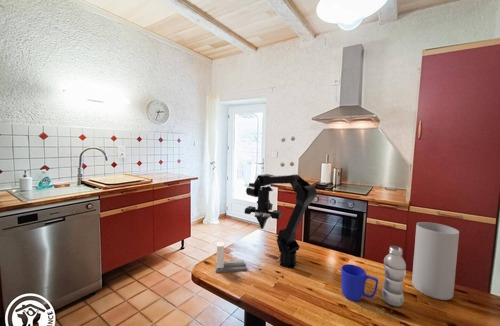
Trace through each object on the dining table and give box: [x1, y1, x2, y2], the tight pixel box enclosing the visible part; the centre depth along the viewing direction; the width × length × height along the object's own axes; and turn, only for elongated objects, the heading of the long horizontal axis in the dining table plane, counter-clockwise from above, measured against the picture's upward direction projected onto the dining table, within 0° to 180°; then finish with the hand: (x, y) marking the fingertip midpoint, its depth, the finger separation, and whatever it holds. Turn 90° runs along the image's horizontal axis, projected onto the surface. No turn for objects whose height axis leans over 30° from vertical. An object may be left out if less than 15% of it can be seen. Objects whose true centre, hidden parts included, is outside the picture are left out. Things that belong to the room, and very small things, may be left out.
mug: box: [340, 263, 379, 302], centre depth 81 cm, size 8×12×10 cm
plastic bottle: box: [381, 245, 407, 307], centre depth 79 cm, size 6×7×20 cm
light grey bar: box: [224, 260, 245, 267], centre depth 99 cm, size 12×2×2 cm, turn 99°
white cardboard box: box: [216, 241, 225, 268], centre depth 98 cm, size 3×5×10 cm, turn 9°
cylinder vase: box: [411, 221, 460, 301], centre depth 86 cm, size 12×12×25 cm
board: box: [215, 262, 247, 273], centre depth 99 cm, size 13×6×1 cm, turn 99°
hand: (262, 228), depth 115 cm, fingers closed
